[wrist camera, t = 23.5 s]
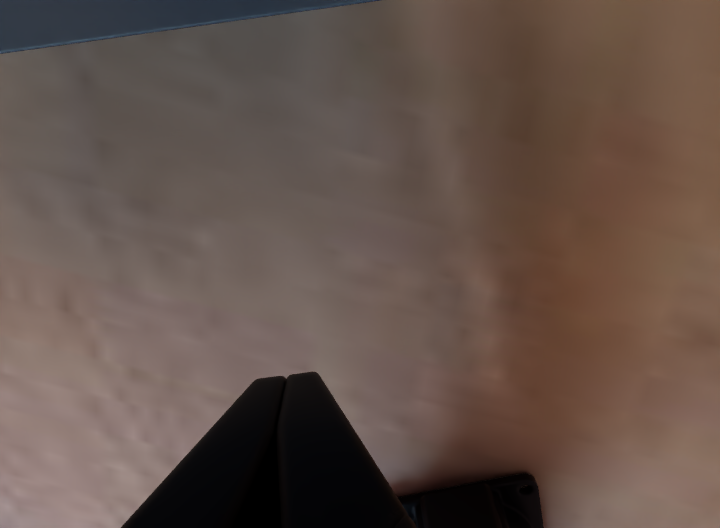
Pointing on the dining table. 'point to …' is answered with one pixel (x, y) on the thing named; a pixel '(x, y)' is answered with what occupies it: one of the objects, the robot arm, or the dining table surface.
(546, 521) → the dining table surface
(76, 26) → the cabinet
